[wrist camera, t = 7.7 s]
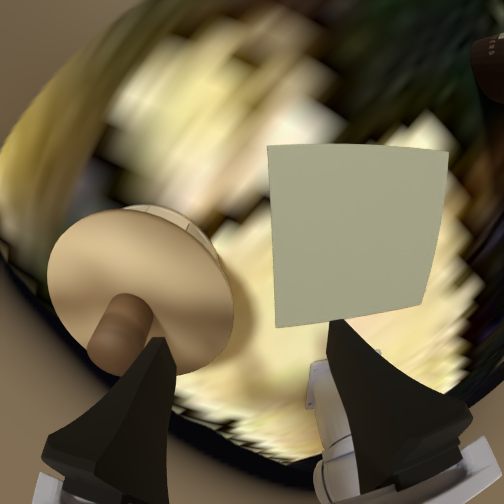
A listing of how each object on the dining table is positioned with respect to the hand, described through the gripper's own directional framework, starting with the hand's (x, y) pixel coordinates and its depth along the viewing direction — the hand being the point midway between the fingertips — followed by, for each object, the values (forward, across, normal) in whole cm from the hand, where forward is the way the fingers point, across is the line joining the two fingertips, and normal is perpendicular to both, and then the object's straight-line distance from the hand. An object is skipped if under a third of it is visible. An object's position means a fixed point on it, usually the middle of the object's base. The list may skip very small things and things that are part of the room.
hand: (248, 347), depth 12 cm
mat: (+10, -10, 0) cm, 14 cm away
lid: (+5, +7, +1) cm, 9 cm away
